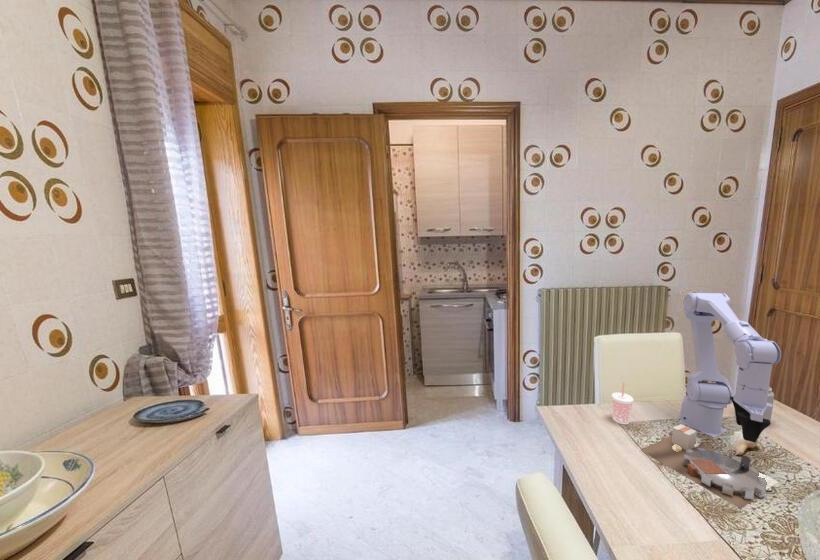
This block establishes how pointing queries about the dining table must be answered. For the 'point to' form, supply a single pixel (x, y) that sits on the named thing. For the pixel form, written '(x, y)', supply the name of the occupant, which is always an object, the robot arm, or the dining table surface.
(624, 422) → the beverage cup
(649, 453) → the board
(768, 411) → the can
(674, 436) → the link block
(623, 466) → the dining table surface
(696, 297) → the robot arm
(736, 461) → the sprocket
